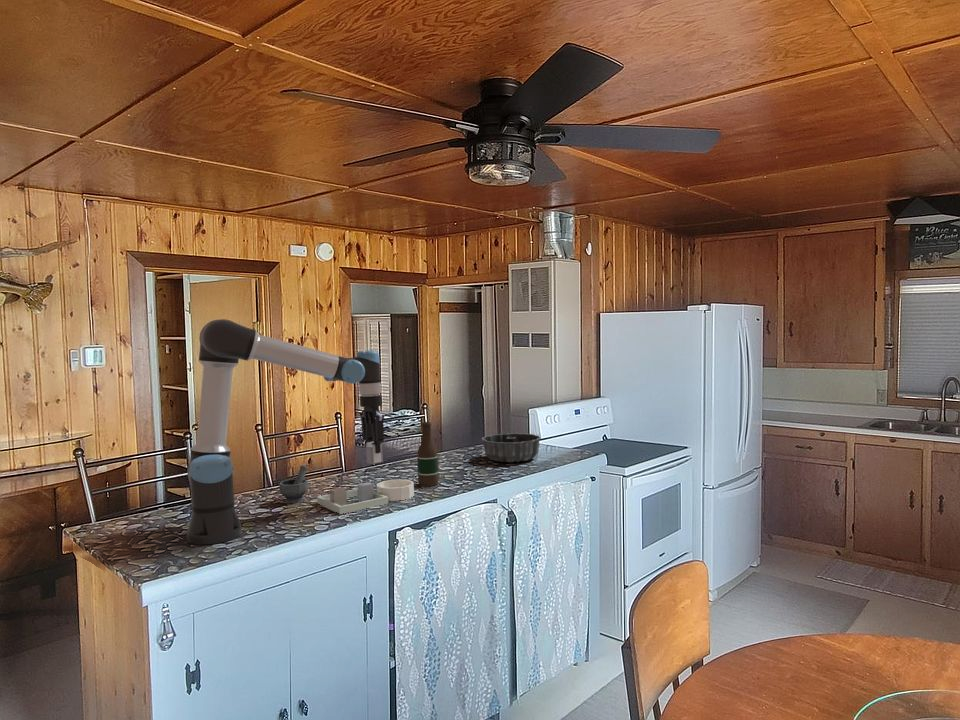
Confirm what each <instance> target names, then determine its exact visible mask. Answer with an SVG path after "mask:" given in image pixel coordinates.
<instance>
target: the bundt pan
mask: <svg viewBox="0 0 960 720" xmlns="http://www.w3.org/2000/svg"><path fill="white" fill-rule="evenodd" d="M540 440H541V436H540V435H536V434H534V433H533V434H531V433H518V432H517V433H515V432H512V433H511V432H510V433H499V434H498V433H497V434H490V435H485V436H484V437H482V438H481V441H482V442H483V449H484V453H485V456H486V457H487V458H488V460H490V461H493V460H494V462H500V463H503V462H504V463H505V462H506V463H513V462H515V463H519V462H526V461H531V460H533V459H534V458H535V457H536V456H537V455H538V453H539V446H540Z"/></svg>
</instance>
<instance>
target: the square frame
mask: <svg viewBox="0 0 960 720" xmlns="http://www.w3.org/2000/svg"><path fill="white" fill-rule="evenodd" d="M346 493H347V499H350V497H351V498H355V497H354V496H356V497H358V488H355V489H349V490H346ZM316 503H318V504H317V505H319V504H320V505H319V506H321V505H322V507H323V508H326V509H328V510H330V511H331V512H334V513H336V512H337V513H336V514H338V513H339V515H343V513H344V514H348V512H349V513H352V512H357V511H361V510H362V509H363V510H367V509H370V508H371V507H372V508H375V506H376V507H380V506H379V505H381V506H385V505H389V501H388V497H387V496H384V495H382V494H379V493H377V491H374V499H372V500H367V501H362V502H359V501H358V502H354V503H350V504H348V503H347V505H343V506H340V505H338V504H336V503H334V502H332V501H330V493H329V494H324V495H323V494H322V495H319V496H316ZM384 504H385V505H384ZM366 508H367V509H366Z"/></svg>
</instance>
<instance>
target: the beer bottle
mask: <svg viewBox="0 0 960 720" xmlns="http://www.w3.org/2000/svg"><path fill="white" fill-rule="evenodd" d="M421 426H422V428H421V444H420V445H419V447H418V449H417V454H416V455H417V456H416V457H417V480H418V481H417V482H418V486H419V487H421V486H432V487H436V486H438V485H439V455H438V450H437V448H436V447H437V446H435V444H434V441H433V438H432V437H433V436H432V428H431V427H432V423H431V421H430V422H429V421H424V422H422V423H421ZM437 484H438V485H437ZM435 485H436V486H435Z"/></svg>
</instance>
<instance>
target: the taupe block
mask: <svg viewBox="0 0 960 720" xmlns="http://www.w3.org/2000/svg"><path fill="white" fill-rule="evenodd" d="M346 491H347V488H344V487H342V486H341V487H336V488H332V489H331V488H330V489H329V494H330V501H332V502H334V503H336V504H338V505H340V506H343V505H348V500H347V499H348V498H347V493H346Z"/></svg>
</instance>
